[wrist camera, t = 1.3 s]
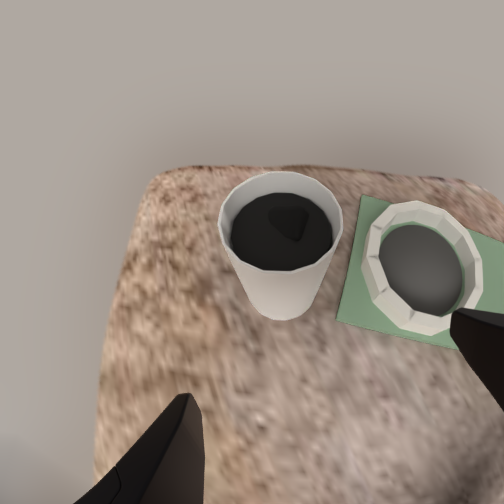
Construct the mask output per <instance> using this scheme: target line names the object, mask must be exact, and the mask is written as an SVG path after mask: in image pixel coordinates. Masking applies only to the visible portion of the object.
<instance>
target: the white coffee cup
mask: <svg viewBox="0 0 504 504" xmlns="http://www.w3.org/2000/svg"><path fill="white" fill-rule="evenodd" d="M217 225H218V229H219V232H220V236H221V240H222V243H223V246H224V248H225V250H226V252H227V254H228V256H229V259H230V261H231V263H232V265H233V267H234V269H235V271H236V273H237V275H238V277H239V279H240V281H241V283H242V286H243V288H244V290H245V292H246V294H247V296H248V298H249V300H250V302H251V304H252V305H253V306H254V307H255V309H256V310H257V311H258V312H259V313H260V314H262V315H264V316H266V317H268V318H270V319H272V320H286V321H287V320H290V319H293V318H296V317H299V316H301V315H302V314H303V313H304V312H305V311H306V310H307V309H309V308H310V307H311V304H312V302H313V300H314V298H315V296H316V294H317V291H318V289H319V287H320V285H321V282H322V280H323V278H324V276H325V273H326V271H327V269H328V266H329V264H330V261H331V259H332V257H333V254H334V252H335V249H336V247H337V245H338V242H339V240H340V237H341V235H342V232H343V217H342V209H341V207H340V205H339V203H338V202H337V200H336V198H335V197H334V195H333V193H332V192H331V191H330V190H329V189H328V188H326V187H325V186H324V185H322V184H321V183H320V182H318V181H317V180H316V179H314V178H311V177H308V176H305V175H302V174H299V173H296V172H285V171H271V172H267V173H264V174H260V175H256V176H252V177H250V178H249V179H247V180H246V181H244V182H242V183H241V184H239V185H238V186H236V187H235V188H233V190H232V191H231V192H230V194H229V195H228V196H227V198H226V199H225V200H224V202H223V203H222V205H221V209H220V214H219V218H218V223H217Z"/></svg>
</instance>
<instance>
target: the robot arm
mask: <svg viewBox="0 0 504 504" xmlns="http://www.w3.org/2000/svg"><path fill="white" fill-rule="evenodd" d="M449 333H450V336H451V338H452V340H453V341H454V343H455V344H456V346H457V347H458V349H459V350H460V352H461V353H462V355H463V356H464V358H465V359H466V361H467V362H468V364H469V365H470V367H471V368H472V370H473V371H474V372H475V373H476V375H477V376H478V377H479V379H480V380H481V381H482V382H483V384H484V385H485V386H486V388H487V389H488V390H489V392H490V393H491V395H492V396H493V397H494V399H495V400H496V401H497V403H498V404H499V406H500V407H501V408H502V410H503V411H504V314H501V313H494V312H488V311H482V310H475V309H469V308H463V307H461V308H459V309H457V310H455V311H453V312H452V314H451V322H450V330H449ZM115 466H116V467H115ZM115 466H114V467H113V468H112V469H111V470H110V471H109V472H108V473H107V474H106V475H105V476H104V477H103V478H102V479H101V480H100V481H99V482H98V483H97V484H96V485H95V486H94V487H93V488H92V489H90V490H89V491H88V492H87V493H86V494H85V495H83V496H82V497H81V498H80V499H79V500H77V501H76V502H75V503H74V504H203V496H204V468H205V451H204V439H203V426H202V415H201V411H200V409H199V407H198V405H197V403H196V401H195V399H194V397H193V395H192V394H191V393H183V394H178V395H177V396H176V397H175V398H174V399H173V400H172V402H171V403H170V404H169V405H168V406H167V407H166V409H165V410H164V411H163V412H162V413H161V414H160V415H159V417H158V418H157V419H156V420H155V421H154V422H153V423H152V425H151V426H150V427H149V428H148V429H147V430H146V431H145V433H144V434H143V435H142V436H141V437H140V438H139V439H138V440H137V442H136V443H135V444H134V445H133V446H132V447H131V448H130V449H129V450H128V452H127V453H126V454H125V455H124V456H123V457H122V458H121V459H120V460H119V461H118V462H117V464H116V465H115Z"/></svg>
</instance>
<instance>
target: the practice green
mask: <svg viewBox="0 0 504 504" xmlns="http://www.w3.org/2000/svg"><path fill="white" fill-rule="evenodd" d="M461 307H463V308H469V309H475V310H482V311H488V312H494V313H501V314H504V243H502V242H500V241H497V240H495V239H492V238H490V237H488V236H485V235H483V234H480V233H478V232H475V231H472V230H470V229H467V228H465V227H463V226H462V225H461V224H460V223H459V222H458V221H457V220H456V219H455V218H454V217H453V216H451V215H450V214H449V213H448V212H447V211H446V210H444V209H441V208H438V207H436V206H433V205H430V204H427V203H424V202H421V201H418V200H416V201H410V202H404V203H398V204H393V203H390V202H387V201H383V200H380V199H376V198H373V197H369V196H366V195H362V196H361V201H360V207H359V213H358V219H357V225H356V231H355V236H354V241H353V246H352V251H351V256H350V261H349V266H348V270H347V275H346V279H345V284H344V288H343V292H342V296H341V300H340V304H339V308H338V312H337V316H336V321H339V322H343V323H347V324H351V325H354V326H358V327H362V328H366V329H370V330H374V331H378V332H382V333H386V334H390V335H394V336H398V337H402V338H407V339H411V340H415V341H419V342H424V343H428V344H433V345H437V346H442V347H446V348H451V349H456V350H459V349H458V347H457V346H456V344H455V343H454V341H453V340H452V338H451V336H450V333H449V330H450V322H451V314H452V312H453V311H455V310H457V309H459V308H461Z"/></svg>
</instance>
